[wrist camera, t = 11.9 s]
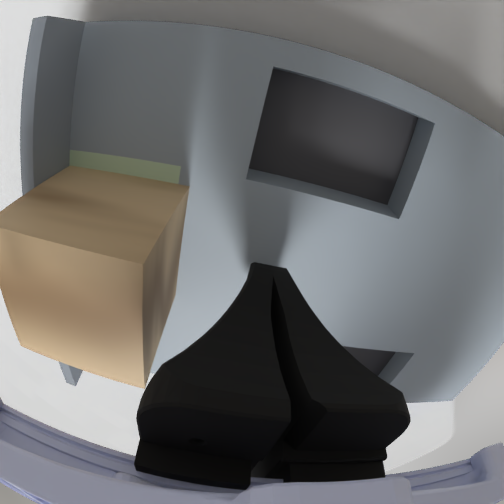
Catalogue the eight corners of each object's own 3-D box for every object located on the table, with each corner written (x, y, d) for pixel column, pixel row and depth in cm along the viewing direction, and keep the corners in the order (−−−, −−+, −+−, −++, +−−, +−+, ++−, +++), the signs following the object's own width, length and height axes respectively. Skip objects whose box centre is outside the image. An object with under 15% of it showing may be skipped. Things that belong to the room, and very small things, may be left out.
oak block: (175, 294, 13) (144, 388, 9) (75, 269, 13) (20, 345, 9) (189, 186, 11) (143, 263, 7) (69, 165, 10) (-15, 223, 6)
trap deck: (445, 385, 20) (461, 425, 16) (90, 334, 18) (66, 382, 14) (566, 190, 11) (608, 221, 8) (92, 26, 9) (32, 18, 5)
